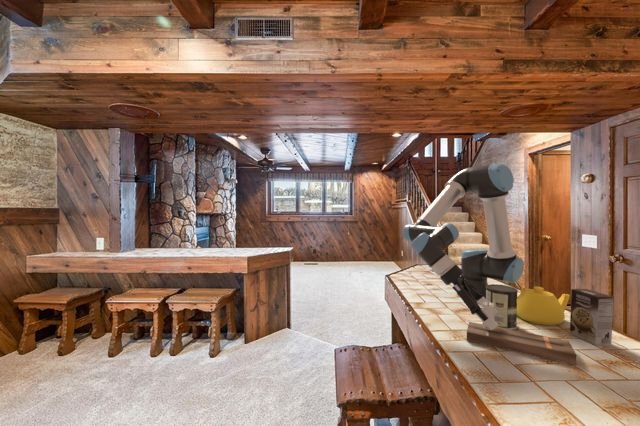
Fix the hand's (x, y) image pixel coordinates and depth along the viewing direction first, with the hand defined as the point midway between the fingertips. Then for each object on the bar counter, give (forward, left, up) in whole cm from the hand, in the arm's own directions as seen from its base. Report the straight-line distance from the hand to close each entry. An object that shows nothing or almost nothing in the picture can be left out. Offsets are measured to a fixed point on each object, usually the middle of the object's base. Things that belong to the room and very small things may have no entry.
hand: (494, 320), depth 97 cm
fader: (0, -2, -3) cm, 4 cm away
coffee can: (-17, +2, -7) cm, 19 cm away
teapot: (-34, +16, -7) cm, 38 cm away
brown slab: (0, +6, -7) cm, 9 cm away
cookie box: (-19, +28, -7) cm, 35 cm away
